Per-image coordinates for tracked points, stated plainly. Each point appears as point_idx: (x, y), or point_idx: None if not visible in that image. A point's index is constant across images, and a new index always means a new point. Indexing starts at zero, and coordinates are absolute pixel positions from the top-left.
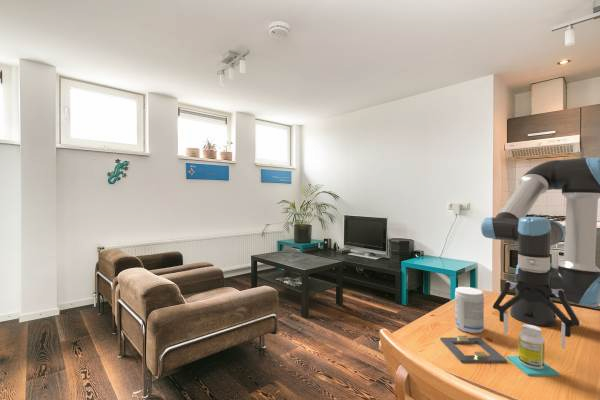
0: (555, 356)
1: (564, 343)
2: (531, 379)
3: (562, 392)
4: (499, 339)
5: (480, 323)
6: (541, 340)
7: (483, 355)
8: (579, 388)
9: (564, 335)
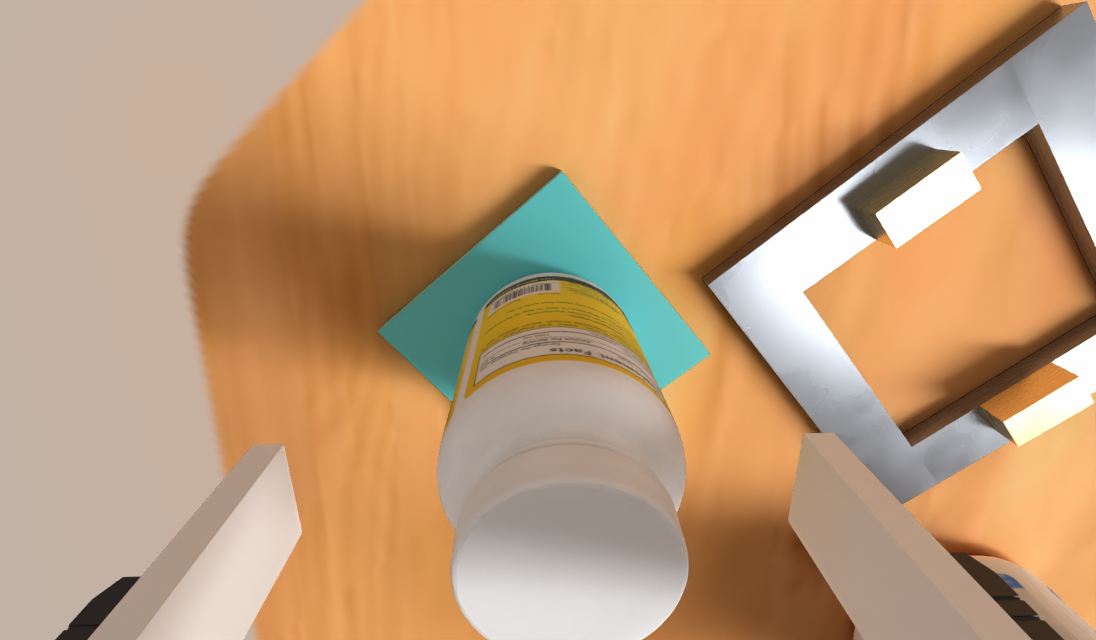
0: (433, 565)
1: (224, 485)
2: (534, 125)
3: (333, 75)
4: (747, 582)
5: None
6: (457, 446)
7: (899, 190)
8: (257, 228)
9: (157, 567)
